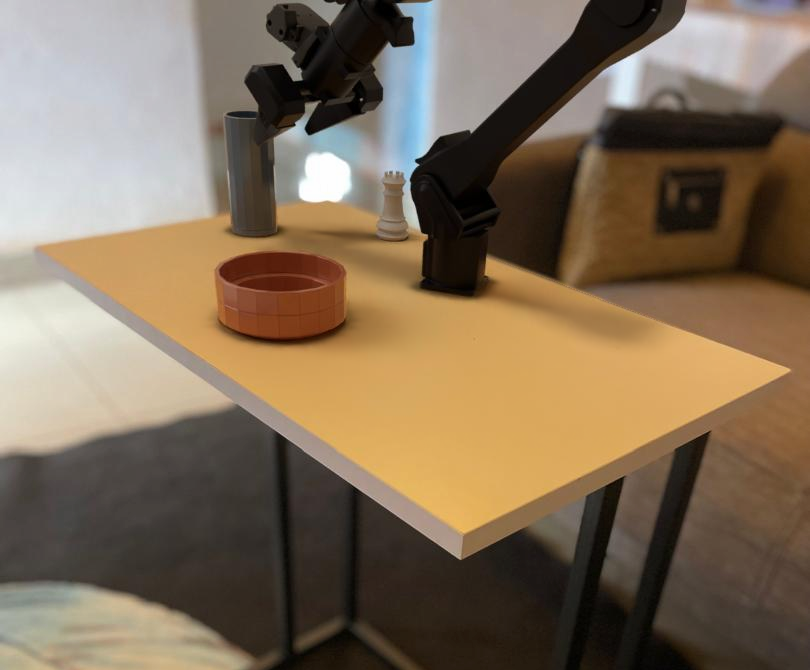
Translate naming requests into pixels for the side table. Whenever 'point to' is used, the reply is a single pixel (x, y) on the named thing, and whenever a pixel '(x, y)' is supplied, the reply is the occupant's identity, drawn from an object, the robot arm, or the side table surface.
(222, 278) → the bowl
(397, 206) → the rook chess piece
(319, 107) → the robot arm
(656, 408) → the side table surface
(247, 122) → the vase
